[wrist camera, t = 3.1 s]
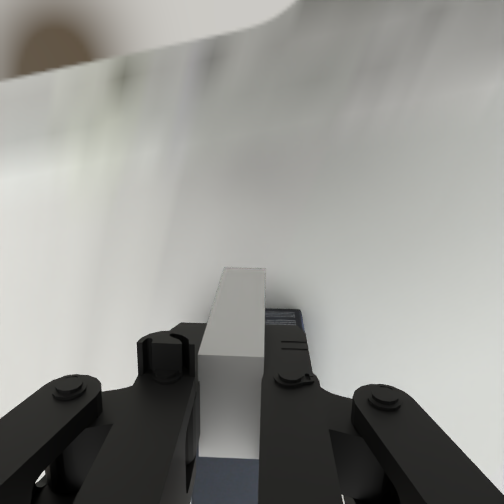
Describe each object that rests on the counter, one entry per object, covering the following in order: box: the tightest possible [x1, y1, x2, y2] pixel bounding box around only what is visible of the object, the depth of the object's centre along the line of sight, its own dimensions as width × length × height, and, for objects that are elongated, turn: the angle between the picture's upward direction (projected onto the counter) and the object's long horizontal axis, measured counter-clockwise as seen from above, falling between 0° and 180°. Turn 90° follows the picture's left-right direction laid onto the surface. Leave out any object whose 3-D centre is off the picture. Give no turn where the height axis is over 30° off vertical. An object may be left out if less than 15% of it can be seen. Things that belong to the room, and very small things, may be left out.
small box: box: [191, 309, 305, 504], centre depth 27 cm, size 11×6×10 cm, turn 0°
